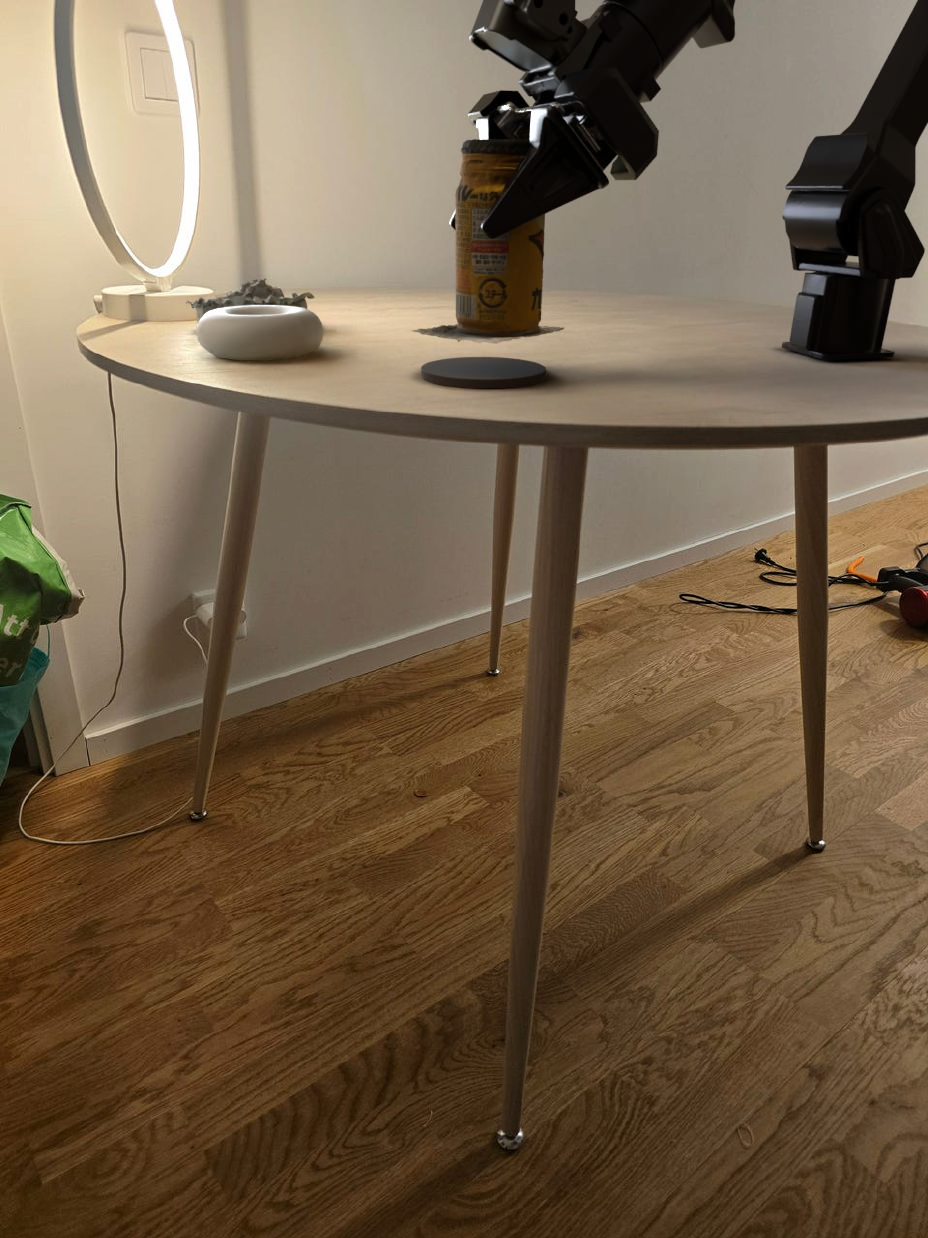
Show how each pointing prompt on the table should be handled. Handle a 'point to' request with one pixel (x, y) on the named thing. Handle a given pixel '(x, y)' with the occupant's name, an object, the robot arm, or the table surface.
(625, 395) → the table surface
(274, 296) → the grey crumpled piece
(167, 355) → the table surface
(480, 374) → the coaster
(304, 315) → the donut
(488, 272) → the condiment
